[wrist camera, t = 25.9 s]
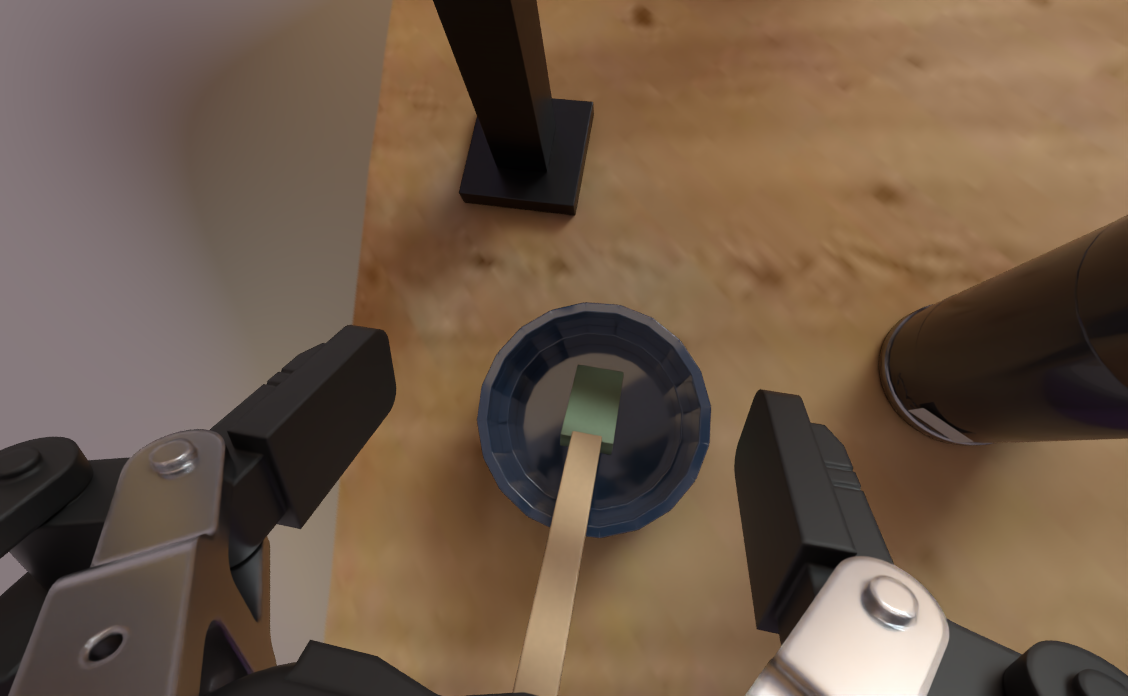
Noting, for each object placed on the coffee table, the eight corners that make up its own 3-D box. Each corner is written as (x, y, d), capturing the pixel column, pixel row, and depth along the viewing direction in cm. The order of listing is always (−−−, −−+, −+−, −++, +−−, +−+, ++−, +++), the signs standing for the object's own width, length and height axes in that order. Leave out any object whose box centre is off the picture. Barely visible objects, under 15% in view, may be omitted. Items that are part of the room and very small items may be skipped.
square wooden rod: (557, 811, 18) (558, 808, 17) (475, 788, 18) (470, 784, 17) (621, 383, 34) (625, 365, 32) (576, 375, 34) (578, 357, 33)
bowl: (625, 297, 36) (629, 263, 29) (729, 456, 33) (758, 457, 26) (469, 388, 35) (439, 374, 29) (560, 559, 32) (548, 584, 26)
